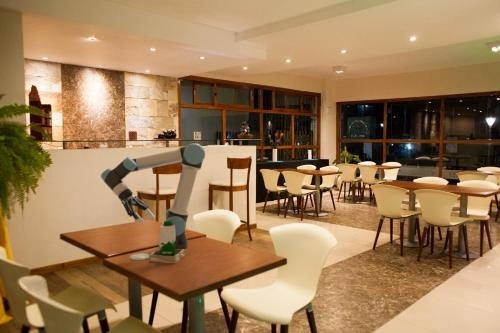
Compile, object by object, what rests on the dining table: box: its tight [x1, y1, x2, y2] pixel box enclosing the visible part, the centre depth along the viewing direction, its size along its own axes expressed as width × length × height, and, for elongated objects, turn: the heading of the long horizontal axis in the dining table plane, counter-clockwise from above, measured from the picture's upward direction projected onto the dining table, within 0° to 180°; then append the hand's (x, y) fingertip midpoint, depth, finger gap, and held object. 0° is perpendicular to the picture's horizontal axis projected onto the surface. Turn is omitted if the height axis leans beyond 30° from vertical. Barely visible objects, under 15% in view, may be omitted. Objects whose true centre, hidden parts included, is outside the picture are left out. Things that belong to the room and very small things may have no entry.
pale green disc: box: [129, 253, 150, 262], centre depth 212 cm, size 11×11×1 cm
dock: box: [148, 248, 186, 264], centre depth 212 cm, size 15×15×4 cm
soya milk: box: [158, 220, 176, 256], centre depth 211 cm, size 9×9×20 cm
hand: (147, 220), depth 213 cm, fingers open, 13 cm apart
